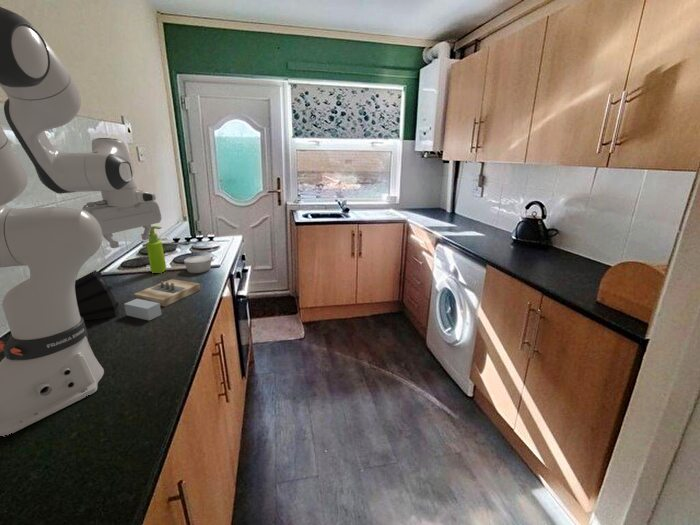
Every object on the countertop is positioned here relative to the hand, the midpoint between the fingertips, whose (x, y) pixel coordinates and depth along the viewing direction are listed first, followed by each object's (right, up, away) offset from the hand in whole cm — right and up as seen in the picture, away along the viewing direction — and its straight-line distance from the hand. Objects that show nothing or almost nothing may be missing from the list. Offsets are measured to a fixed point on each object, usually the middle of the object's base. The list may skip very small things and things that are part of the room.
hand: (131, 243), depth 103 cm
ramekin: (0, -9, +47) cm, 48 cm away
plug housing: (+1, -23, +5) cm, 23 cm away
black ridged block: (-14, -23, +3) cm, 27 cm away
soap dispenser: (-16, -10, +45) cm, 49 cm away
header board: (+1, -18, +20) cm, 27 cm away
